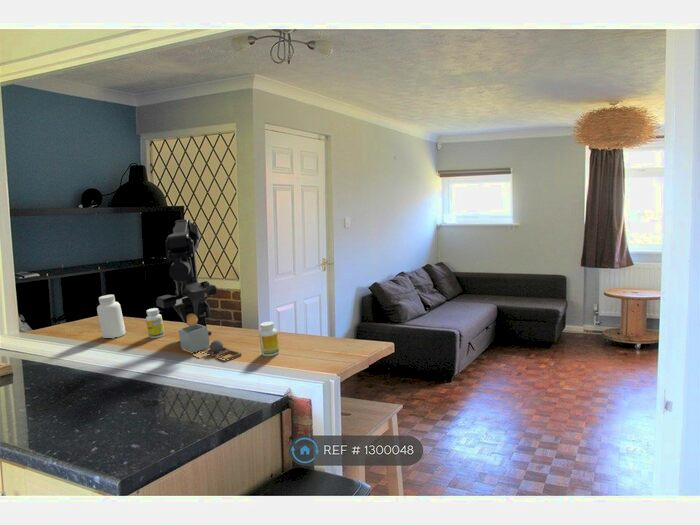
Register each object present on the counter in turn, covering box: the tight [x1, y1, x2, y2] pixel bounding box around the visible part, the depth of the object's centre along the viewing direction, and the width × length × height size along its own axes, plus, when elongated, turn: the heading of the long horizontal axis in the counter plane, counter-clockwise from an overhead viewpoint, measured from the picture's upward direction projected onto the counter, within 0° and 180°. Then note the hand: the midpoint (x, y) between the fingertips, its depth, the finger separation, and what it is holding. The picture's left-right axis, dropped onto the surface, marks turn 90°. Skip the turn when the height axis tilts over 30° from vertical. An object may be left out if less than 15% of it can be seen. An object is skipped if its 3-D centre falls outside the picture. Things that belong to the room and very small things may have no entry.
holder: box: [204, 346, 242, 360], centre depth 173 cm, size 12×6×1 cm, turn 44°
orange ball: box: [185, 314, 198, 326], centre depth 180 cm, size 4×4×4 cm
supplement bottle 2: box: [258, 321, 280, 357], centre depth 169 cm, size 5×5×10 cm
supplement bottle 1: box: [145, 307, 166, 339], centre depth 198 cm, size 5×5×10 cm
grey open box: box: [177, 324, 211, 353], centre depth 181 cm, size 7×7×7 cm
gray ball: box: [209, 339, 224, 354], centre depth 175 cm, size 4×4×4 cm
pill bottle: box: [96, 294, 126, 339], centre depth 203 cm, size 8×8×15 cm
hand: (191, 321), depth 180 cm, fingers closed on orange ball, 4 cm apart
